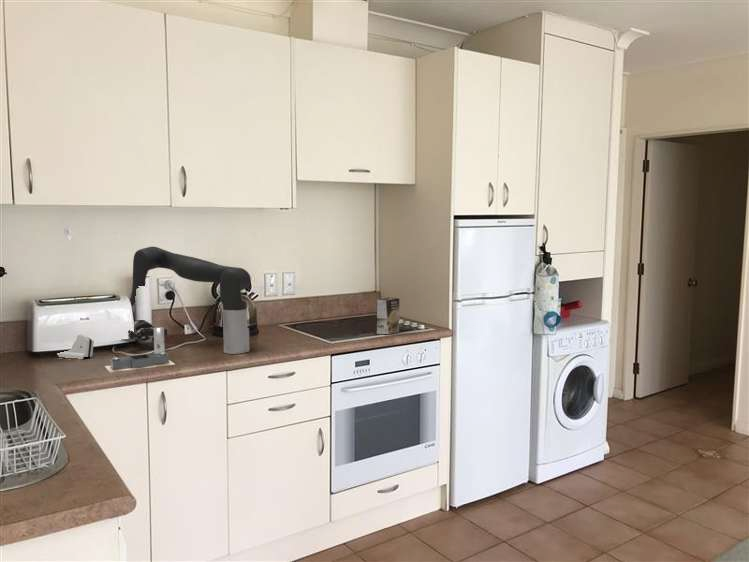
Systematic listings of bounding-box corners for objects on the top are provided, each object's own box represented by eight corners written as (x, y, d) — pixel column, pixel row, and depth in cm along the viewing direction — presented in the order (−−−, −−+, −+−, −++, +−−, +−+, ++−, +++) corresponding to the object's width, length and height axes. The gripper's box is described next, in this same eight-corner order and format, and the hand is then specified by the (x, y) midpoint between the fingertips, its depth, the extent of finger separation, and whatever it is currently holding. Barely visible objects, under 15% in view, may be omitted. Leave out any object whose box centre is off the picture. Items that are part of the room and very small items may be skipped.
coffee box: (387, 335, 290) (388, 300, 288) (376, 333, 294) (376, 299, 292) (399, 332, 297) (399, 298, 296) (388, 330, 301) (388, 297, 299)
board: (167, 360, 238) (167, 358, 238) (175, 366, 230) (175, 364, 230) (104, 368, 226) (104, 366, 226) (110, 374, 218) (110, 372, 218)
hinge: (47, 357, 244) (53, 331, 246) (57, 358, 248) (63, 333, 250) (82, 360, 238) (88, 334, 240) (91, 362, 242) (97, 336, 244)
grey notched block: (164, 360, 236) (164, 350, 236) (170, 364, 230) (169, 354, 230) (109, 366, 226) (109, 356, 226) (113, 370, 220) (113, 360, 219)
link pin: (163, 358, 243) (162, 326, 242) (165, 359, 240) (164, 328, 239) (153, 359, 241) (152, 327, 240) (155, 361, 238) (154, 329, 237)
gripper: (123, 322, 258) (132, 328, 245) (159, 319, 266) (170, 325, 252) (124, 340, 259) (133, 347, 245) (160, 337, 267) (170, 343, 253)
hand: (152, 336), depth 249 cm, fingers open, 8 cm apart
